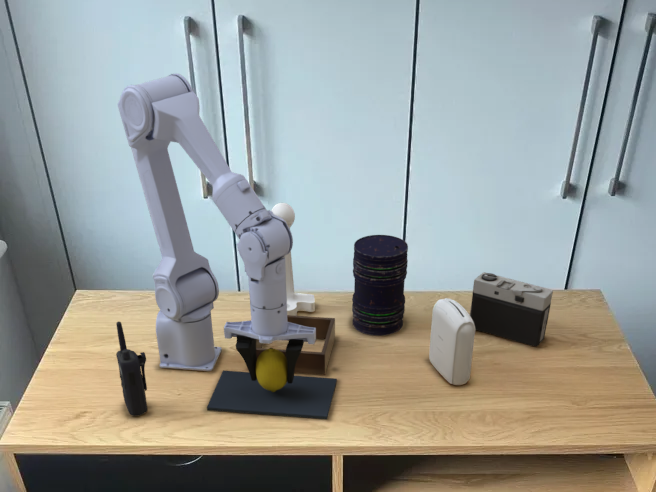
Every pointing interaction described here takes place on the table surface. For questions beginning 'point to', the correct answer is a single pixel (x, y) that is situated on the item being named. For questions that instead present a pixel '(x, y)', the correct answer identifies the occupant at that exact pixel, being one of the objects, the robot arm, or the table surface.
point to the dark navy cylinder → (379, 284)
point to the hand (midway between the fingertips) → (272, 379)
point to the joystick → (293, 299)
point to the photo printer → (452, 341)
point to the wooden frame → (307, 359)
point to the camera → (510, 308)
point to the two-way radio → (132, 376)
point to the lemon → (271, 369)
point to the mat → (273, 396)
